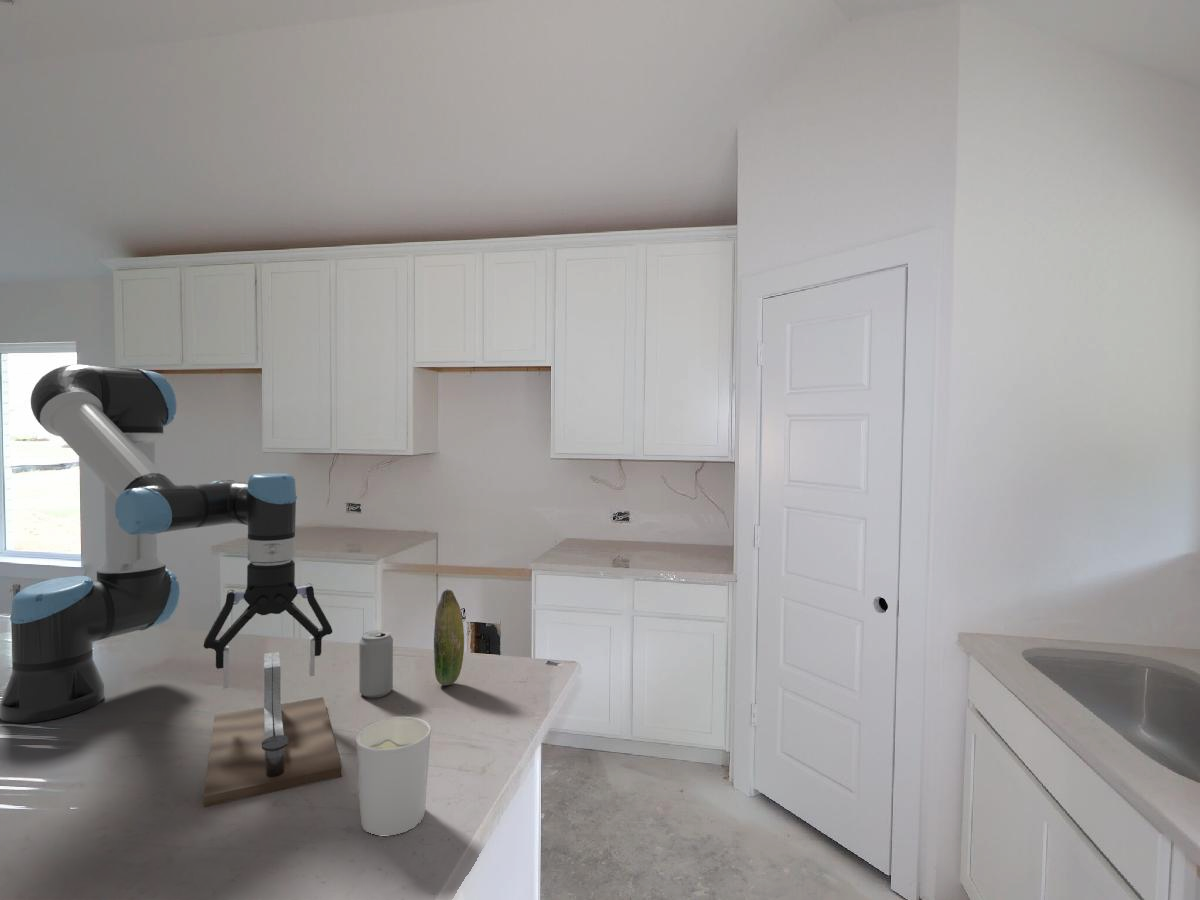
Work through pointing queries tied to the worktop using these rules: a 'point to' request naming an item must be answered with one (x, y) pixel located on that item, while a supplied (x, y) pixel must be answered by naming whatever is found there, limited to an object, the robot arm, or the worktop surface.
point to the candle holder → (392, 774)
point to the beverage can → (376, 663)
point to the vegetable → (448, 639)
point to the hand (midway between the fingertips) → (269, 679)
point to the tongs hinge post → (275, 754)
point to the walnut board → (243, 759)
